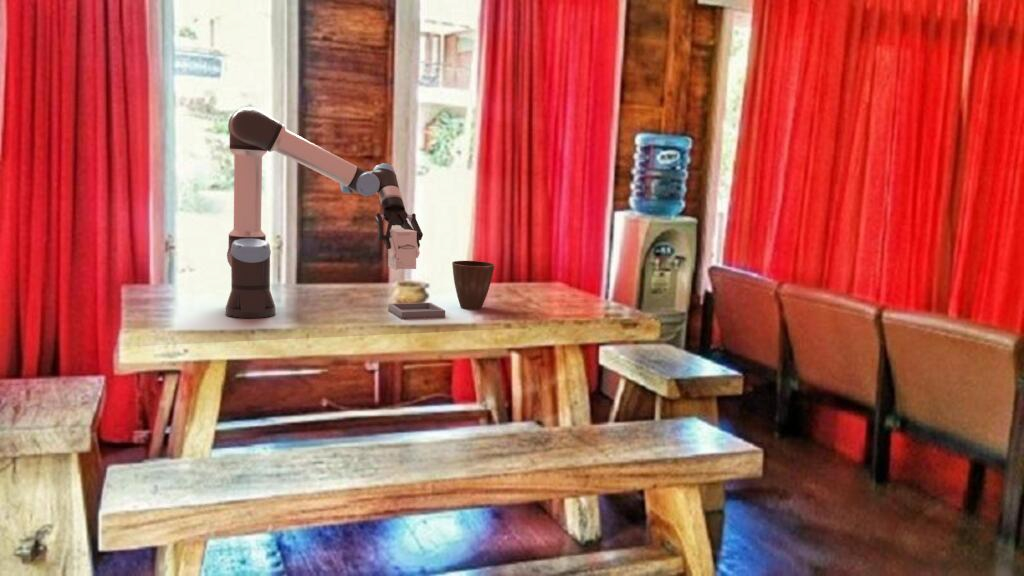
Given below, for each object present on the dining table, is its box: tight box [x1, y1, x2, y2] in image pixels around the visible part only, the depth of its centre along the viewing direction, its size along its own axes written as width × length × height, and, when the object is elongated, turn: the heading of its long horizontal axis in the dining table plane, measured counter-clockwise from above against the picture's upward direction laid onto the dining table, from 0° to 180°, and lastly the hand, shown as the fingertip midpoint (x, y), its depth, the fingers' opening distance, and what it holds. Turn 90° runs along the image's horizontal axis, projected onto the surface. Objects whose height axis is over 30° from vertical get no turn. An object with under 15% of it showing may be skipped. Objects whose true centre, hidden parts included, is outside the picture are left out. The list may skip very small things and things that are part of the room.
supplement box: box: [387, 228, 417, 271], centre depth 266 cm, size 7×7×13 cm
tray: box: [387, 302, 446, 320], centre depth 270 cm, size 15×15×2 cm
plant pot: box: [451, 260, 495, 311], centre depth 285 cm, size 15×15×16 cm
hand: (405, 255), depth 263 cm, fingers closed on supplement box, 7 cm apart
